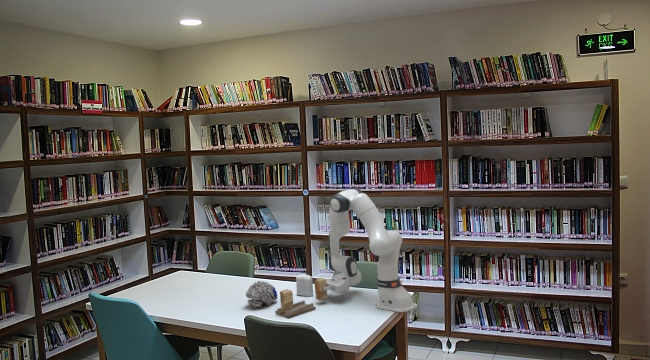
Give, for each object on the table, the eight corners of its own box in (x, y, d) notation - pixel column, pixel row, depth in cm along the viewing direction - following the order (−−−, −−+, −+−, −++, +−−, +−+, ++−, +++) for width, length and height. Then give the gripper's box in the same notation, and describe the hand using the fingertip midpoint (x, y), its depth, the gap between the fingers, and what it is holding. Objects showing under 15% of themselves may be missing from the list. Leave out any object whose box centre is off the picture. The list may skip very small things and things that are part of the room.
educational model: (278, 313, 294) (284, 287, 298) (256, 307, 279) (263, 279, 283) (259, 309, 302) (266, 283, 306) (237, 303, 286) (244, 276, 291)
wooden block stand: (315, 309, 279) (314, 286, 278) (289, 318, 268) (287, 294, 267) (301, 305, 288) (300, 283, 287) (275, 313, 277) (273, 290, 276)
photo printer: (314, 295, 306) (313, 274, 305) (310, 297, 302) (309, 276, 301) (299, 293, 311) (298, 273, 310) (295, 295, 307) (294, 274, 306)
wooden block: (327, 298, 289) (326, 278, 289) (320, 300, 286) (318, 281, 285) (322, 297, 292) (321, 277, 292) (315, 299, 289) (313, 280, 288)
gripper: (325, 274, 305) (307, 280, 296) (349, 279, 290) (331, 285, 281) (326, 285, 305) (308, 291, 296) (350, 290, 290) (332, 296, 281)
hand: (319, 288), depth 288 cm, fingers closed on wooden block, 4 cm apart
